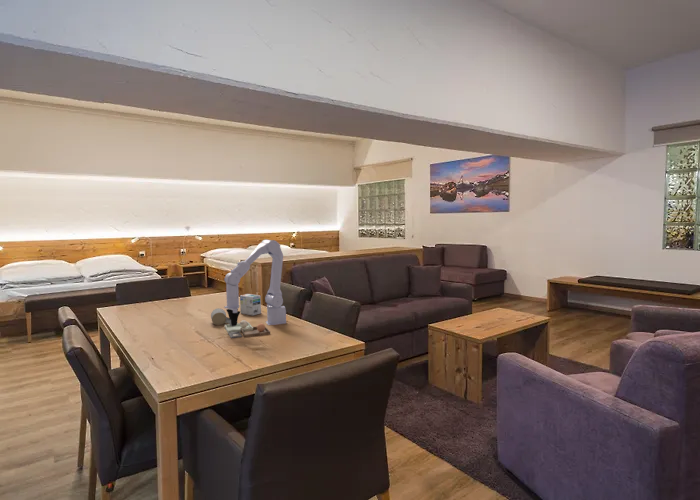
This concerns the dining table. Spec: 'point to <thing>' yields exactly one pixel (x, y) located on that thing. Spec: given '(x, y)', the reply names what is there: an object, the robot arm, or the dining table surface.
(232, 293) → the robot arm
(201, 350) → the dining table surface
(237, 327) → the sage tray
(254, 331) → the walnut tray
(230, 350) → the dining table surface
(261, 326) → the terracotta ball
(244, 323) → the cream ball
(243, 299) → the light bulb box
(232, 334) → the tile
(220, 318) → the ceramic mug
